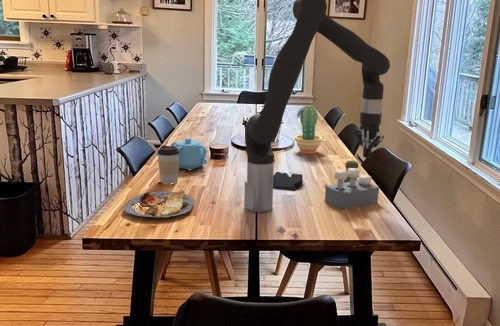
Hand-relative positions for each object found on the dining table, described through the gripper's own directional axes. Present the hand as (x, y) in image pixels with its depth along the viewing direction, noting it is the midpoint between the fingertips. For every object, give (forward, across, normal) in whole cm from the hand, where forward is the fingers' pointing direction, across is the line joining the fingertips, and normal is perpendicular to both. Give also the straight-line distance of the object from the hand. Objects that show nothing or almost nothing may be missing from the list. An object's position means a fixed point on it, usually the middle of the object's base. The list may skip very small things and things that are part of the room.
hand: (366, 157), depth 168 cm
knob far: (+16, 0, 0) cm, 16 cm away
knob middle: (+12, 0, -6) cm, 14 cm away
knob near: (+12, 0, -12) cm, 17 cm away
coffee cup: (+17, -53, -58) cm, 80 cm away
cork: (+17, -14, +6) cm, 23 cm away
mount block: (+16, 0, -6) cm, 17 cm away
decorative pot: (+17, -71, -42) cm, 84 cm away
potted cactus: (+17, -71, +27) cm, 78 cm away
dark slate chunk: (+17, -32, -19) cm, 41 cm away
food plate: (+18, -26, -71) cm, 77 cm away
